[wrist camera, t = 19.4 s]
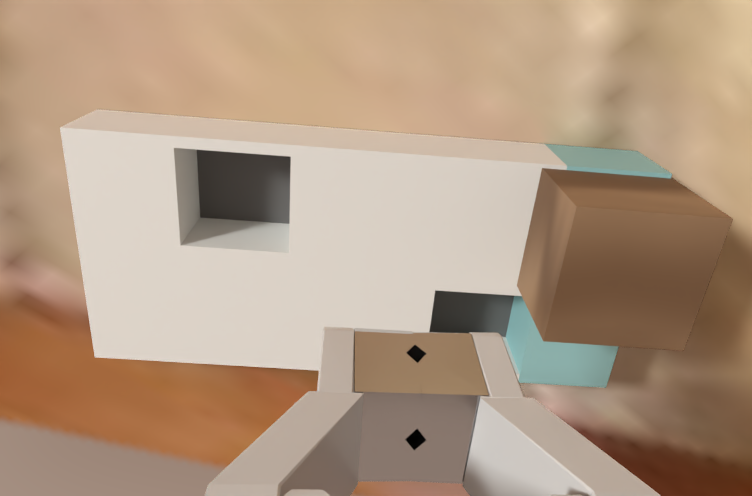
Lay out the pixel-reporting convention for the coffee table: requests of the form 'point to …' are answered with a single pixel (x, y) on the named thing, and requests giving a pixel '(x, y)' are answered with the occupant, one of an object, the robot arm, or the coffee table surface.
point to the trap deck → (310, 238)
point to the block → (618, 259)
